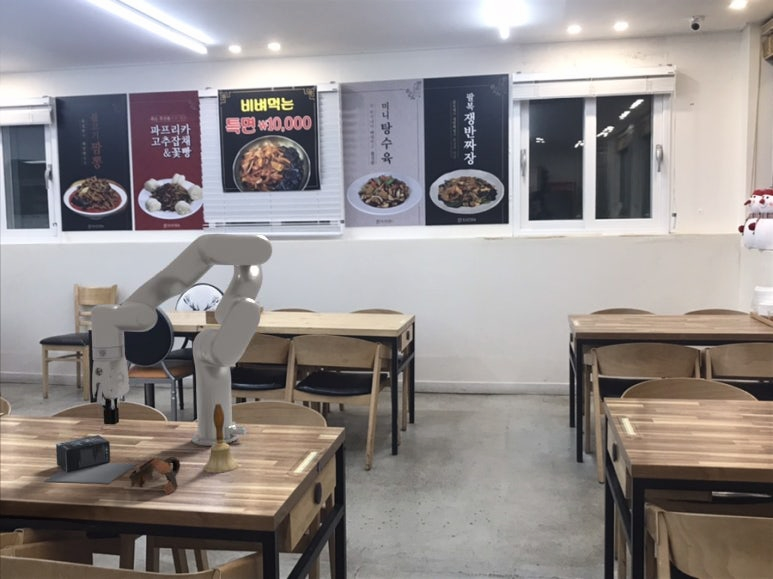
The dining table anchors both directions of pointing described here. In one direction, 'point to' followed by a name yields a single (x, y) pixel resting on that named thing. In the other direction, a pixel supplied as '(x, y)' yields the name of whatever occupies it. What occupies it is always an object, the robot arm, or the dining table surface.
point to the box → (83, 453)
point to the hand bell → (220, 448)
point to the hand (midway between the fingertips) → (111, 423)
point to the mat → (93, 474)
